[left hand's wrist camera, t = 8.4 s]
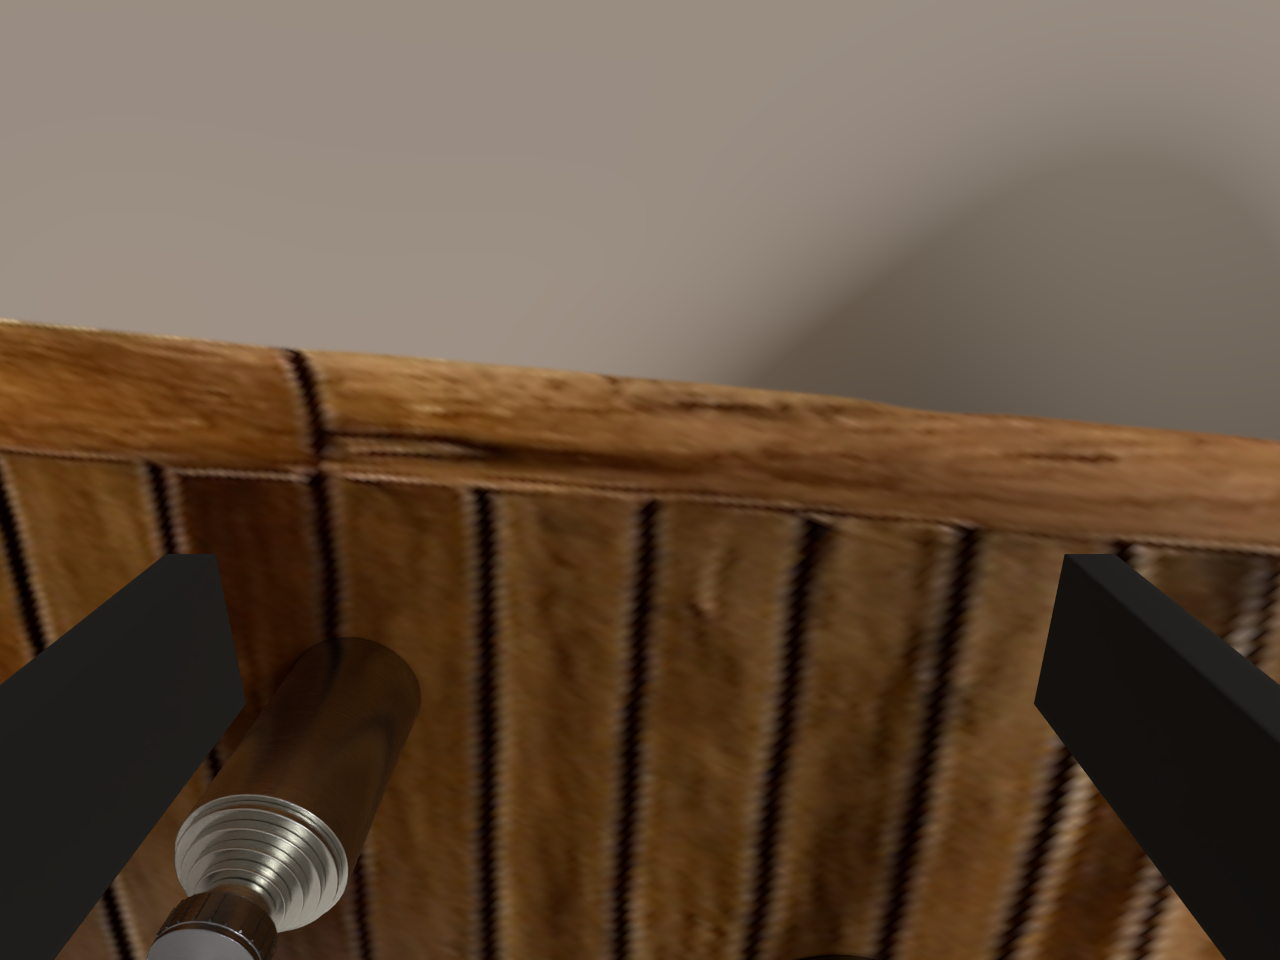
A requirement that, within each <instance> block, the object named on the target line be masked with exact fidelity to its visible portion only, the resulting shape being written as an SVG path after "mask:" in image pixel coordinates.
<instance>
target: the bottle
mask: <svg viewBox="0 0 1280 960" xmlns="http://www.w3.org/2000/svg"><path fill="white" fill-rule="evenodd" d="M420 698H421V697H420V689H419V686H418V682H417V680H416V678H415V675H414V674H413V672H412V670H411V669H410V668H409V666H408V665H407V664H406V663H405V662H404V661H403V660H402V659H401V658H400V657H399V656H398V655H397V654H395V653H394V652H393V651H391V650H390V649H388V648H386V647H384V646H382V645H380V644H378V643H375V642H372V641H369V640H365V639H360V638H336V639H331V640H327V641H324V642H322V643H319V644H317V645H315V646H313V647H312V648H310V649H309V650H308V651H306V652H305V653H304V654H303V655H302V656H301V657H300V659H299V660H298V662H297V663H296V664H295V666H294V667H293V669H292V670H291V671H290V673H289V674H288V676H287V677H286V678H285V680H284V681H283V683H282V684H281V686H280V687H279V688H278V690H277V691H276V693H275V694H274V695H273V697H272V698H271V700H270V701H269V702H268V704H267V705H266V707H265V708H264V709H263V711H262V712H261V714H260V715H259V717H258V718H257V719H256V721H255V722H254V724H253V725H252V726H251V728H250V729H249V731H248V732H247V733H246V735H245V736H244V738H243V739H242V740H241V742H240V743H239V745H238V746H237V748H236V749H235V750H234V752H233V753H232V755H231V756H230V757H229V759H228V760H227V762H226V763H225V764H224V766H223V767H222V769H221V770H220V772H219V773H218V774H217V776H216V777H215V779H214V780H213V781H212V783H211V784H210V786H209V787H208V788H207V790H206V791H205V793H204V794H203V795H202V797H201V798H200V800H199V801H198V803H197V804H196V805H195V807H194V808H193V810H192V811H191V812H190V814H189V815H188V817H187V818H186V819H185V821H184V822H183V824H182V825H181V827H180V829H179V831H178V834H177V838H176V842H175V870H176V874H177V877H178V879H179V882H180V884H181V886H182V887H183V889H184V891H185V892H186V894H187V896H188V897H190V896H192V895H194V894H198V893H202V892H207V891H222V892H230V893H234V894H237V895H240V896H243V897H246V898H248V899H250V900H252V901H253V902H255V903H256V904H258V905H259V906H261V907H262V908H263V909H264V910H265V911H266V912H267V913H268V914H269V915H270V917H271V918H272V920H273V921H274V923H275V926H276V929H277V933H278V932H283V931H288V930H293V929H297V928H300V927H303V926H305V925H307V924H309V923H311V922H313V921H314V920H316V919H318V918H319V917H320V916H321V915H322V914H324V913H325V912H327V911H328V910H329V909H330V908H332V907H333V906H334V905H335V904H336V903H337V901H338V900H339V899H340V898H341V896H342V894H343V893H344V891H345V888H346V886H347V883H348V881H349V879H350V876H351V874H352V871H353V869H354V867H355V864H356V862H357V859H358V857H359V855H360V852H361V850H362V847H363V845H364V842H365V840H366V838H367V835H368V833H369V830H370V828H371V826H372V823H373V821H374V818H375V816H376V814H377V811H378V809H379V806H380V804H381V802H382V799H383V797H384V794H385V792H386V789H387V787H388V785H389V782H390V780H391V777H392V775H393V773H394V770H395V768H396V765H397V763H398V761H399V758H400V756H401V753H402V751H403V749H404V746H405V744H406V741H407V739H408V736H409V734H410V732H411V729H412V727H413V724H414V722H415V720H416V717H417V715H418V712H419V708H420Z"/></svg>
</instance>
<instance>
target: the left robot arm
mask: <svg viewBox="0 0 1280 960" xmlns="http://www.w3.org/2000/svg"><path fill="white" fill-rule="evenodd" d="M245 704H246V701H245V696H244V692H243V687H242V682H241V677H240V672H239V667H238V662H237V657H236V653H235V648H234V643H233V638H232V633H231V628H230V623H229V619H228V614H227V609H226V604H225V599H224V594H223V589H222V584H221V580H220V575H219V570H218V565H217V560H216V555H215V554H165V555H164V556H163V557H161V558H160V559H159V560H158V561H156V562H155V563H154V564H153V565H151V566H150V567H149V568H148V569H146V570H145V571H144V572H143V573H141V574H140V575H139V576H137V577H136V578H135V579H134V580H132V581H131V582H130V583H129V584H127V585H126V586H125V587H124V588H122V589H121V590H120V591H119V592H117V593H116V594H115V595H113V596H112V597H111V598H110V599H108V600H107V601H106V602H105V603H103V604H102V605H101V606H100V607H98V608H97V609H96V610H95V611H93V612H92V613H91V614H89V615H88V616H87V617H86V618H84V619H83V620H82V621H81V622H79V623H78V624H77V625H76V626H74V627H73V628H72V629H71V630H69V631H68V632H67V633H66V634H64V635H63V636H62V637H60V638H59V639H58V640H57V641H55V642H54V643H53V644H52V645H50V646H49V647H48V648H47V649H45V650H44V651H43V652H42V653H40V654H39V655H38V656H36V657H35V658H34V659H33V660H31V661H30V662H29V663H28V664H26V665H25V666H24V667H23V668H21V669H20V670H19V671H18V672H16V673H15V674H14V675H12V676H11V677H10V678H9V679H7V680H6V681H5V682H4V683H2V684H1V685H0V960H54V959H55V958H56V956H57V955H58V954H59V952H60V951H61V950H62V948H63V947H64V946H65V944H66V943H67V942H68V940H69V939H70V938H71V936H72V935H73V934H74V932H75V931H76V930H77V928H78V927H79V926H80V924H81V923H82V922H83V920H84V919H85V918H86V916H87V915H88V914H89V912H90V911H91V910H92V908H93V907H94V906H95V904H96V903H97V902H98V900H99V899H100V898H101V896H102V895H103V894H104V892H105V891H106V890H107V888H108V887H109V886H110V884H111V883H112V882H113V880H114V879H115V878H116V876H117V875H118V874H119V872H120V871H121V870H122V868H123V867H124V866H125V864H126V863H127V862H128V860H129V859H130V858H131V856H132V855H133V854H134V852H135V851H136V850H137V848H138V847H139V846H140V844H141V843H142V842H143V840H144V839H145V838H146V836H147V835H148V834H149V832H150V831H151V830H152V828H153V827H154V826H155V824H156V823H157V822H158V820H159V819H160V818H161V816H162V815H163V814H164V812H165V811H166V810H167V808H168V807H169V806H170V804H171V803H172V802H173V800H174V799H175V798H176V796H177V795H178V794H179V792H180V791H181V790H182V788H183V787H184V786H185V784H186V783H187V782H188V780H189V779H190V778H191V776H192V775H193V774H194V772H195V771H196V770H197V768H198V767H199V766H200V764H201V763H202V762H203V760H204V759H205V758H206V756H207V755H208V754H209V752H210V751H211V750H212V748H213V747H214V746H215V744H216V743H217V742H218V740H219V739H220V738H221V736H222V735H223V734H224V732H225V731H226V730H227V728H228V727H229V726H230V724H231V723H232V722H233V720H234V719H235V718H236V716H237V715H238V714H239V712H240V711H241V710H242V708H243V707H244V706H245ZM1034 704H1035V706H1036V707H1037V708H1038V710H1039V711H1040V712H1041V714H1042V715H1043V716H1044V718H1045V719H1046V720H1047V722H1048V723H1049V724H1050V726H1051V727H1052V728H1053V730H1054V731H1055V732H1056V734H1057V735H1058V736H1059V738H1060V739H1061V740H1062V742H1063V743H1064V744H1065V746H1066V747H1067V748H1068V750H1069V751H1070V752H1071V754H1072V755H1073V756H1074V758H1075V759H1076V760H1077V762H1078V763H1079V764H1080V766H1081V767H1082V768H1083V770H1084V771H1085V772H1086V774H1087V775H1088V776H1089V778H1090V779H1091V780H1092V782H1093V783H1094V784H1095V786H1096V787H1097V788H1098V790H1099V791H1100V792H1101V794H1102V795H1103V796H1104V798H1105V799H1106V800H1107V802H1108V803H1109V804H1110V806H1111V807H1112V808H1113V810H1114V811H1115V812H1116V814H1117V815H1118V816H1119V818H1120V819H1121V820H1122V822H1123V823H1124V824H1125V826H1126V827H1127V828H1128V830H1129V831H1130V832H1131V834H1132V835H1133V836H1134V838H1135V839H1136V840H1137V842H1138V843H1139V844H1140V846H1141V847H1142V848H1143V850H1144V851H1145V852H1146V854H1147V855H1148V856H1149V858H1150V859H1151V860H1152V862H1153V863H1154V864H1155V866H1156V867H1157V868H1158V870H1159V871H1160V872H1161V874H1162V875H1163V876H1164V878H1165V879H1166V880H1167V882H1168V883H1169V884H1170V886H1171V887H1172V888H1173V890H1174V891H1175V892H1176V894H1177V895H1178V896H1179V898H1180V899H1181V900H1182V902H1183V903H1184V904H1185V906H1186V907H1187V908H1188V910H1189V911H1190V912H1191V914H1192V915H1193V916H1194V918H1195V919H1196V920H1197V922H1198V923H1199V924H1200V926H1201V927H1202V928H1203V930H1204V931H1205V932H1206V934H1207V935H1208V936H1209V938H1210V939H1211V940H1212V942H1213V943H1214V944H1215V946H1216V947H1217V948H1218V950H1219V951H1220V952H1221V954H1222V955H1223V956H1224V958H1225V959H1226V960H1280V685H1279V684H1278V683H1276V682H1275V681H1274V680H1273V679H1271V678H1270V677H1269V676H1268V675H1266V674H1265V673H1264V672H1262V671H1261V670H1260V669H1259V668H1257V667H1256V666H1255V665H1254V664H1252V663H1251V662H1250V661H1249V660H1247V659H1246V658H1245V657H1244V656H1242V655H1241V654H1240V653H1238V652H1237V651H1236V650H1235V649H1233V648H1232V647H1231V646H1230V645H1228V644H1227V643H1226V642H1225V641H1223V640H1222V639H1221V638H1220V637H1218V636H1217V635H1216V634H1214V633H1213V632H1212V631H1211V630H1209V629H1208V628H1207V627H1206V626H1204V625H1203V624H1202V623H1201V622H1199V621H1198V620H1197V619H1196V618H1194V617H1193V616H1192V615H1190V614H1189V613H1188V612H1187V611H1185V610H1184V609H1183V608H1182V607H1180V606H1179V605H1178V604H1177V603H1175V602H1174V601H1173V600H1172V599H1170V598H1169V597H1168V596H1167V595H1165V594H1164V593H1163V592H1161V591H1160V590H1159V589H1158V588H1156V587H1155V586H1154V585H1153V584H1151V583H1150V582H1149V581H1148V580H1146V579H1145V578H1144V577H1143V576H1141V575H1140V574H1139V573H1137V572H1136V571H1135V570H1134V569H1132V568H1131V567H1130V566H1129V565H1127V564H1126V563H1125V562H1124V561H1122V560H1121V559H1120V558H1119V557H1117V556H1116V555H1115V554H1065V555H1064V560H1063V565H1062V570H1061V575H1060V580H1059V584H1058V589H1057V594H1056V599H1055V604H1054V609H1053V614H1052V619H1051V623H1050V628H1049V633H1048V638H1047V643H1046V648H1045V653H1044V657H1043V662H1042V667H1041V672H1040V677H1039V682H1038V687H1037V692H1036V696H1035V701H1034ZM807 960H874V959H869V958H864V957H855V956H827V957H818V958H813V959H807Z"/></svg>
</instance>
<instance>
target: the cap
mask: <svg viewBox="0 0 1280 960" xmlns="http://www.w3.org/2000/svg"><path fill="white" fill-rule="evenodd" d="M278 936H279V935H278V934H277V929H276V926H275V923H274V921H273V920H272V918H271V917H270V915H269V914H268V913H267V912H266V911H265V910H264V909H263V908H262V907H261V906H259V905H258V904H256V903H255V902H253V901H252V900H250V899H248V898H246V897H243V896H240V895H237V894H234V893H230V892H222V891H207V892H202V893H198V894H194V895H192V896H190V897H188V898H187V899H185V900H182V901H181V902H180V904H179V905H178V906H177V907H176V908H173V910H172V911H171V913H170V915H169V916H168V918H167V919H166V921H165V922H164V924H163V926H162V927H161V929H160V930H159V932H158V933H157V935H156V937H157V938H156V939H155V941H154V942H153V944H152V946H151V947H150V949H149V951H148V955H147V960H272V957H273V955H274V953H275V951H276V949H277V947H278V945H277V940H278Z"/></svg>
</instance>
